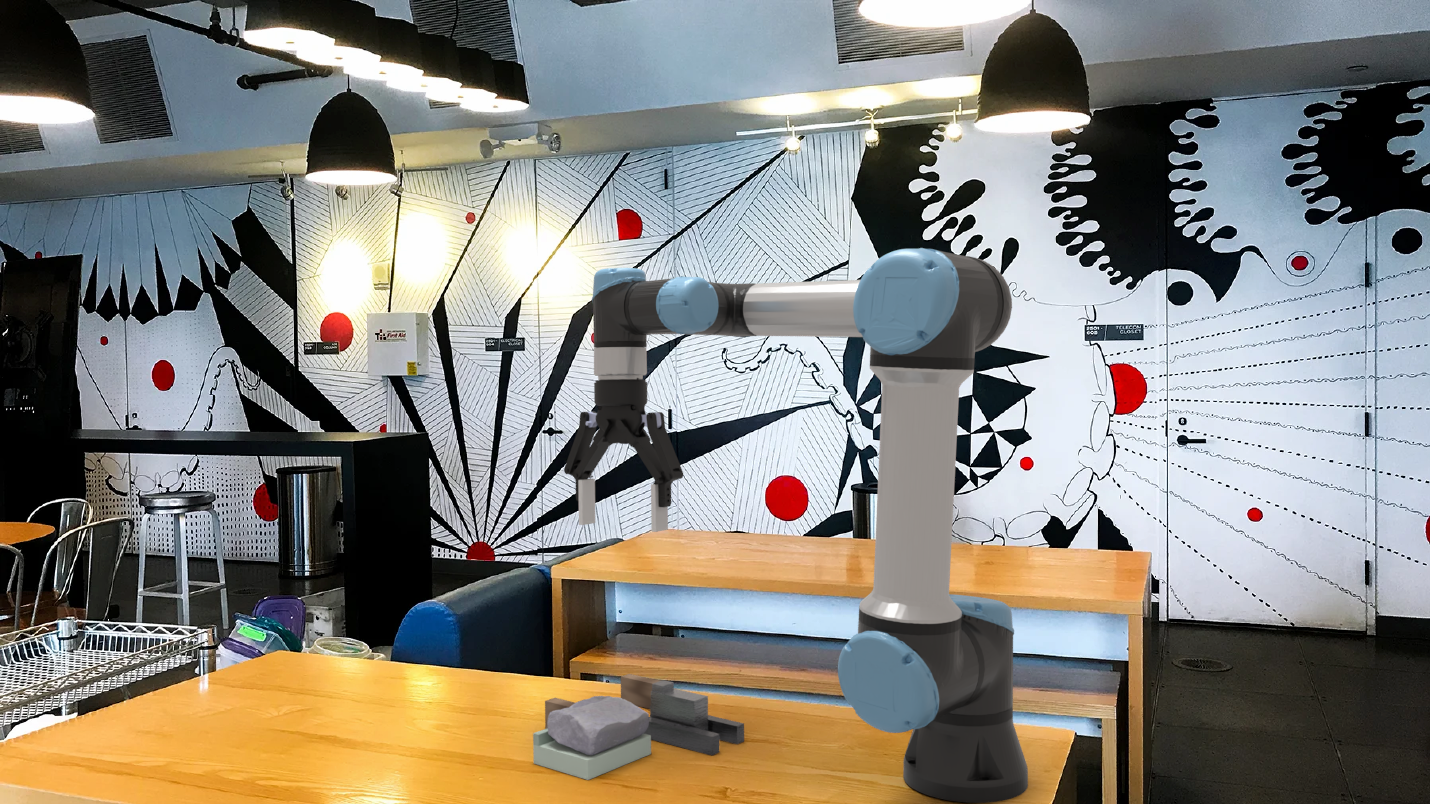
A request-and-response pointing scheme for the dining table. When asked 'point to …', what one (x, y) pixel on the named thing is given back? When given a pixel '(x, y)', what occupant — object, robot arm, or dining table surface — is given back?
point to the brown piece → (631, 690)
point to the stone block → (597, 724)
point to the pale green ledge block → (581, 763)
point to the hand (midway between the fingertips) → (622, 527)
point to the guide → (696, 734)
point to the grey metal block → (679, 706)
